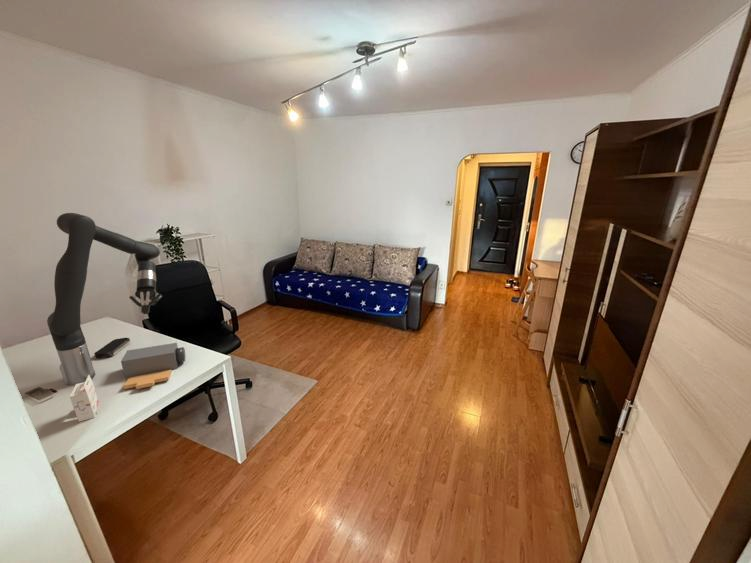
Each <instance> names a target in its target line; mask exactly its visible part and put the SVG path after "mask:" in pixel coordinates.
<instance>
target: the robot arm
mask: <svg viewBox="0 0 751 563" xmlns="http://www.w3.org/2000/svg"><path fill="white" fill-rule="evenodd" d="M56 225H57V227H58V229H59V230H60V231H62V233H64V234H67V235H68V239H67V240H68V242H67V248H66V250H65V251H64V253H63V255H62V256H61V258H60V259H59V260H58V261H57V263H56V266H55V271H54V272H55V273H54V297H55V307H54V311H53V312H52V313H50V315H48V317H47V320H46V324H47V327H48V329H49V332H50V336H51V339H52V341H53V344H54V347H55V349H56V352H57V355H58V358H59V361H60V364H59V370H60V373H61V375H62V379H63V382H64V384H65V385H66V386H67V385H71V386H73V385H76V384H80V383H84V382H85V381H86V379H87V377H88V375H90V377H91V380H93V378H94V377H95V376H96V372H95V368H94V365H93V362H92V361H93V360H92V359H91V355H90V352H89V351H90V350H89V348H88V344H87V341H86V337H85V335H84V333H83V329H82V326H81V323H82V322H81V305H82V304H81V302H82V300H83V296H84V291H85V286H86V282H87V276H88V266H89V260H90V259H89V258H90V253H91V248H92V244H93V241H97V242H99V243H101V244H104V245H106V246H107V247H108V246H109V247H111V248H114V249H116V250H119V251H121V252H124V253H127V254H129V255H130V254H131V255H134V258H135V260H136V264H137V275H136V276H137V277H136V290H135V292H134V294H133V295H130V296H129V299H130V300H131V301H132V302H133V303H134V304H135V305H136V306H138V308H140V307H141V309H140V311H141V313H142V314H143V315H148V314H149V313H150V308H151V306H155V305H156V304H157V302H158V301H160V300H161V299H162V298H163V295H162V293H159V292H157V274H156V273H157V272H156V268H157V266H156V263H155V262H153V261H151V260H153V259H156V258H158V257H159V256H160V254H161V250H160V249H159V248H158V246H156V245H154V244H152V243H149V242H144V241H140V240H139V241H138V240H135V239H133V238H130V237H129V236H125V235H123V234H120V233H117V232H114V231H112V230H108V229H106V228H103V227H101V226H98V225H97V224H95V221H94V220H93V218H91V217H89V216H87V215H83V214H79V213H75V212H65V213H62V214H60V215H58V217H57V218H56ZM137 299H139V300H140V302H139V301H138V300H137ZM65 385H64V386H65Z"/></svg>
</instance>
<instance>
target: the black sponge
mask: <svg viewBox="0 0 751 563" xmlns="http://www.w3.org/2000/svg"><path fill="white" fill-rule="evenodd" d="M130 343H131V339H130V337H121V338H116V339H113V340H111V341H109V342H108V343H107V344H105V345H104V346H103V347H101V348H100V349H98V350H97V351H95V352H94V353H93V354H94V357H95V358H98V359H99V358H107V357H108V358H109V357H113V356H115V355H117V354H118V353H119V352H120V351H121V350H122V349H124V348H125V347H127V346H128V345H129V344H130Z"/></svg>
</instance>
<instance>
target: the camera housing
mask: <svg viewBox="0 0 751 563" xmlns="http://www.w3.org/2000/svg"><path fill="white" fill-rule="evenodd" d="M120 362H121V367H122V370H123V374H124V379H129V378H130V377H134V376H140V375H145V374H150V373H156V372H161V371H166V370H171V369H172V371H173V370H178V366H179V363H182V362H186V349H185V347H184V346H182V347H178V342H173V343H166V344H160V345H153V346H152V345H151V346H147V347H142V348H140V347H139V348H136V349H135V348H134V349H129V350H127V349H126V352H125V354H124V355H123V357H122V359H121V360H120Z"/></svg>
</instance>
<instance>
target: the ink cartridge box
mask: <svg viewBox="0 0 751 563" xmlns="http://www.w3.org/2000/svg"><path fill="white" fill-rule="evenodd" d="M71 391H72V392H71V393H70V395H69V399H70V402H71V405H72V406H73V410H74V413H75V415H76V418H77V421H78V423H79V422H82V421H86V420H90V419H93V418H95V417H96V415H97V410H98V406H99V403H100V402H99V399H98V394H97V393H96V392H97V391H96V388H95V385H94V382H93V379H91V377H90V375H88V377H87V379H86V381H85V382H84V383H80V384H76V385H75V386H74V387H73V389H72V390H71Z"/></svg>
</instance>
